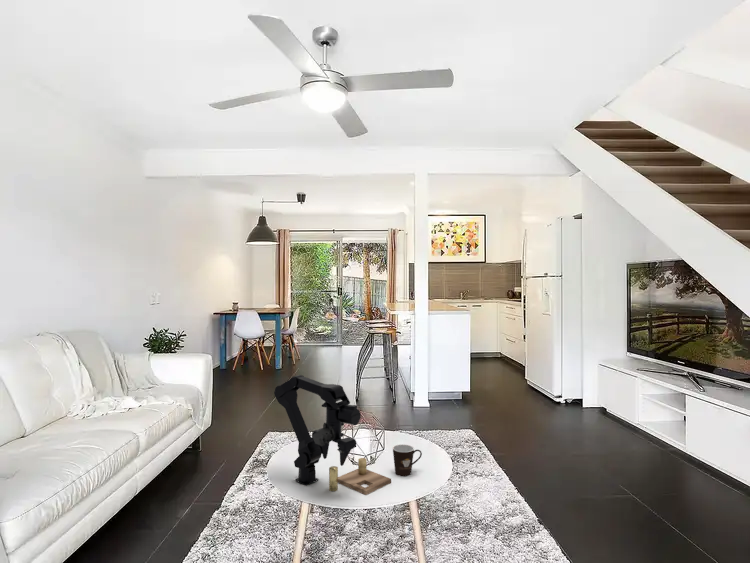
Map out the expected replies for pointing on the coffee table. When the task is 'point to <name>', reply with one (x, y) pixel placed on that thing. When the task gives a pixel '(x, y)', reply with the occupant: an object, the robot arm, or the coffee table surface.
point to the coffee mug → (404, 459)
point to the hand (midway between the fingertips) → (333, 461)
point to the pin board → (363, 479)
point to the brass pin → (333, 478)
